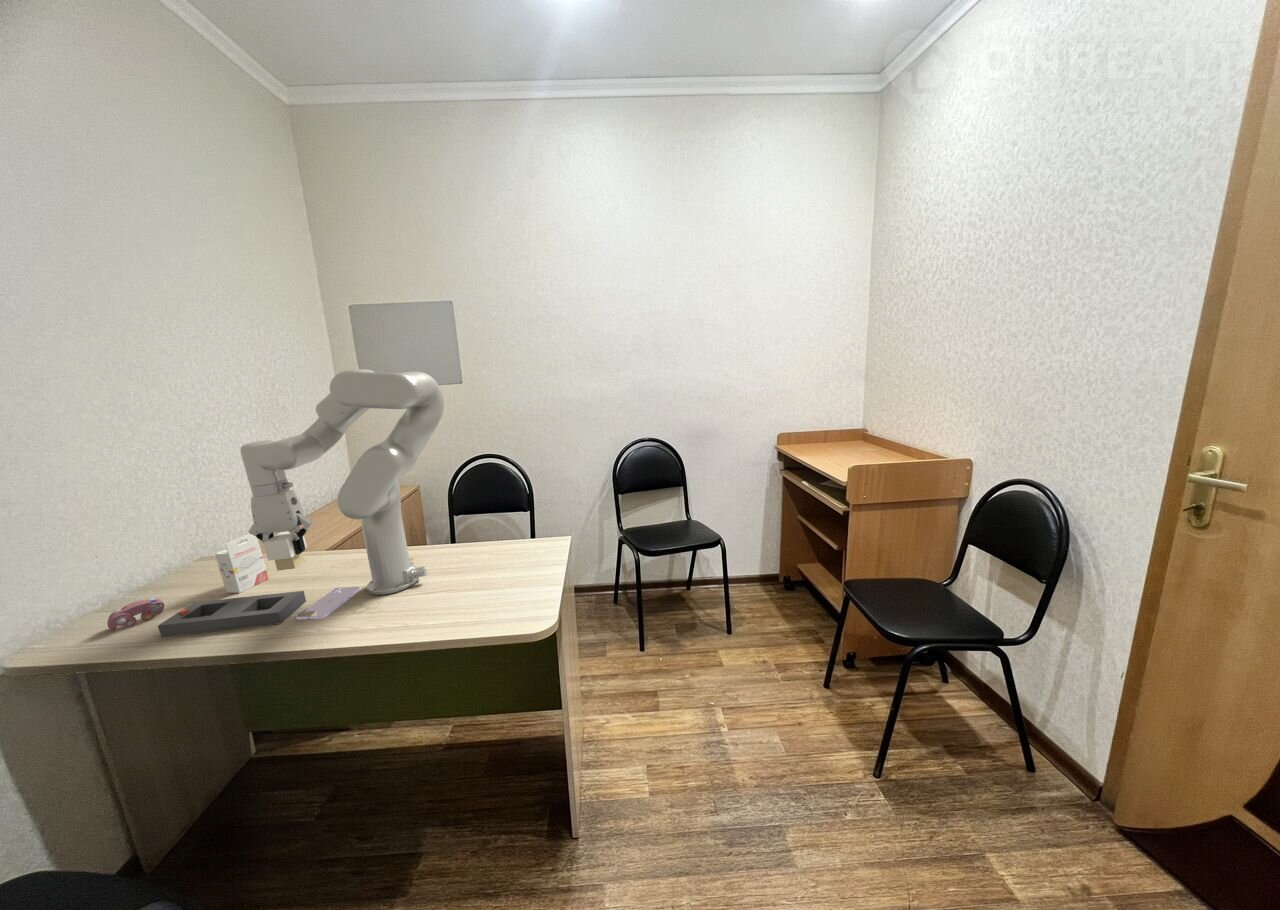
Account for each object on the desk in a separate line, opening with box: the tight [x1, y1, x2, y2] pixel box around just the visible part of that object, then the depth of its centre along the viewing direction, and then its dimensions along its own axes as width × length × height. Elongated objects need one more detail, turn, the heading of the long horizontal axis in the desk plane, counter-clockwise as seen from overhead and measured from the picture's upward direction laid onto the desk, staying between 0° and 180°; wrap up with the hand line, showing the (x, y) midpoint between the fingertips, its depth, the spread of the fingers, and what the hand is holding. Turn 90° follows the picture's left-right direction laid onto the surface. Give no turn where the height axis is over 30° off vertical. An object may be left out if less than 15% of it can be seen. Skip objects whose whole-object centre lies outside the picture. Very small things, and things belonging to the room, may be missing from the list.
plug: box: [262, 531, 308, 572], centre depth 124 cm, size 6×7×8 cm
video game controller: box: [107, 597, 165, 631], centre depth 115 cm, size 10×5×7 cm, turn 149°
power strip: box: [157, 590, 307, 638], centre depth 115 cm, size 26×10×4 cm, turn 97°
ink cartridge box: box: [214, 533, 269, 594], centre depth 131 cm, size 9×5×15 cm, turn 168°
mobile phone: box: [295, 586, 362, 620], centre depth 120 cm, size 8×1×15 cm
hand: (288, 553), depth 124 cm, fingers closed on plug, 5 cm apart
